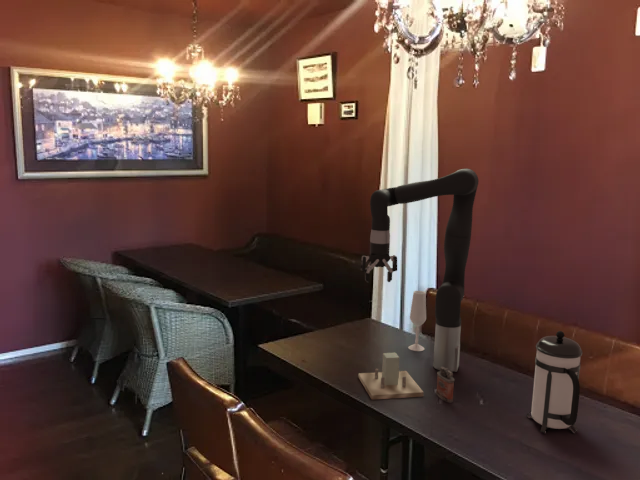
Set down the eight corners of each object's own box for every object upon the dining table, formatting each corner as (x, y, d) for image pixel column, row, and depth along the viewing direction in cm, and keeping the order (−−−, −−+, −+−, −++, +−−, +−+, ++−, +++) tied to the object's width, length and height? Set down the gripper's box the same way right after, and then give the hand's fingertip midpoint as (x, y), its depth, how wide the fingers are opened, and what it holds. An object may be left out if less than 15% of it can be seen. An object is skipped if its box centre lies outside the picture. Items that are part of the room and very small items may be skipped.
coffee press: (515, 425, 172) (523, 331, 166) (538, 408, 183) (546, 320, 177) (572, 447, 159) (583, 347, 154) (593, 428, 171) (604, 334, 165)
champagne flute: (407, 350, 232) (410, 293, 228) (408, 344, 238) (411, 289, 234) (424, 351, 230) (427, 295, 226) (425, 346, 237) (428, 290, 233)
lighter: (433, 392, 193) (435, 365, 191) (442, 391, 194) (443, 363, 192) (446, 402, 185) (448, 374, 184) (455, 401, 187) (457, 373, 185)
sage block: (381, 380, 198) (382, 353, 197) (394, 379, 199) (395, 352, 197) (385, 385, 194) (386, 357, 192) (397, 384, 195) (399, 357, 193)
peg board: (405, 374, 207) (406, 361, 206) (423, 396, 190) (424, 382, 189) (358, 377, 204) (358, 364, 203) (371, 399, 187) (372, 385, 186)
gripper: (364, 243, 213) (363, 284, 216) (400, 242, 215) (398, 283, 218) (359, 239, 220) (358, 280, 223) (394, 239, 223) (392, 279, 226)
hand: (378, 281), depth 221 cm, fingers open, 8 cm apart
